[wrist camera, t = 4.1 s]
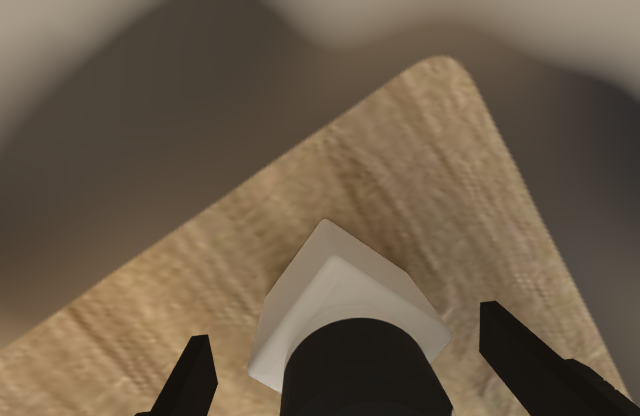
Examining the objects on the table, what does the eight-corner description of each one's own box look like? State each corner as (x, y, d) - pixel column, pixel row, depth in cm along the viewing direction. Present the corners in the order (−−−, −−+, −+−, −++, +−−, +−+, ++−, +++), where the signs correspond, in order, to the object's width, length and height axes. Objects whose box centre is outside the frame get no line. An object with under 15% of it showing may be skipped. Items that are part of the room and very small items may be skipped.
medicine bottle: (262, 299, 22) (212, 492, 10) (323, 215, 20) (349, 319, 9) (347, 350, 23) (392, 576, 11) (408, 273, 22) (532, 433, 10)
